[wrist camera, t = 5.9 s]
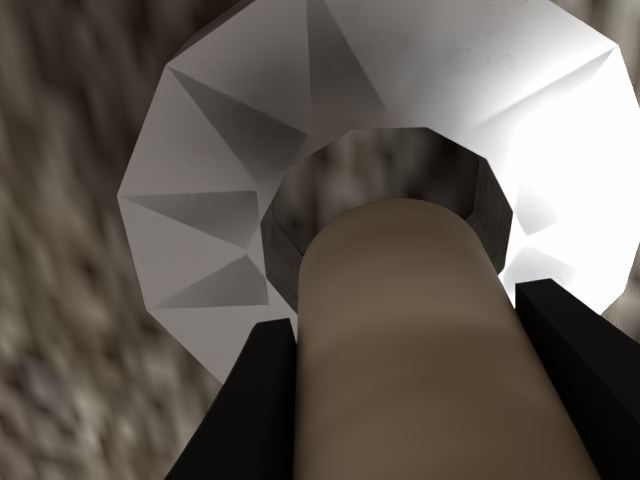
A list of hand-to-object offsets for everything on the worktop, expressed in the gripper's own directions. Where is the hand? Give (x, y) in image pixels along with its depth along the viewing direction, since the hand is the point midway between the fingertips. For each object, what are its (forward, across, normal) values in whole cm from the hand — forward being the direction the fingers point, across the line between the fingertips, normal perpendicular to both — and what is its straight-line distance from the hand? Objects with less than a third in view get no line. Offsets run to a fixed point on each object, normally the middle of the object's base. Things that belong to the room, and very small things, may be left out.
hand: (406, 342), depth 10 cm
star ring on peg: (+6, 0, 0) cm, 6 cm away
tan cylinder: (+2, 0, 0) cm, 2 cm away
